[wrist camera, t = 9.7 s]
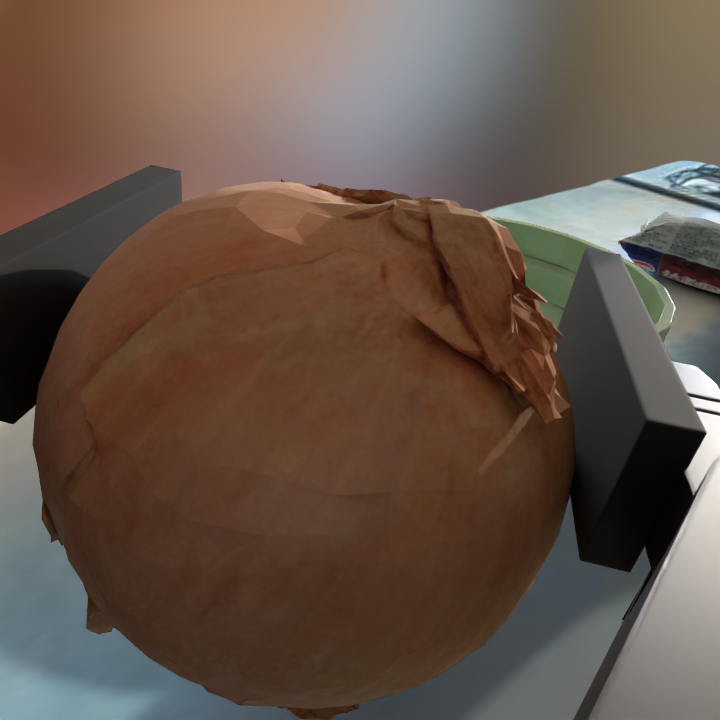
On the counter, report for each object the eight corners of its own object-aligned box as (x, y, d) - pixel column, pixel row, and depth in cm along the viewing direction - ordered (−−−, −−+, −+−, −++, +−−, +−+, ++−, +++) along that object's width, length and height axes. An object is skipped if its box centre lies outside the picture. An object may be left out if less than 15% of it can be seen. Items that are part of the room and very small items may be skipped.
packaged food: (639, 245, 58) (658, 195, 56) (774, 290, 53) (803, 236, 50) (607, 267, 52) (627, 212, 50) (756, 321, 46) (787, 261, 44)
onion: (434, 663, 16) (792, 439, 10) (58, 929, 9) (563, 662, 3) (273, 379, 20) (473, 112, 14) (-77, 407, 13) (64, -92, 7)
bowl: (365, 422, 29) (380, 332, 27) (338, 268, 45) (346, 202, 42) (704, 434, 32) (747, 354, 29) (569, 286, 47) (590, 225, 45)
